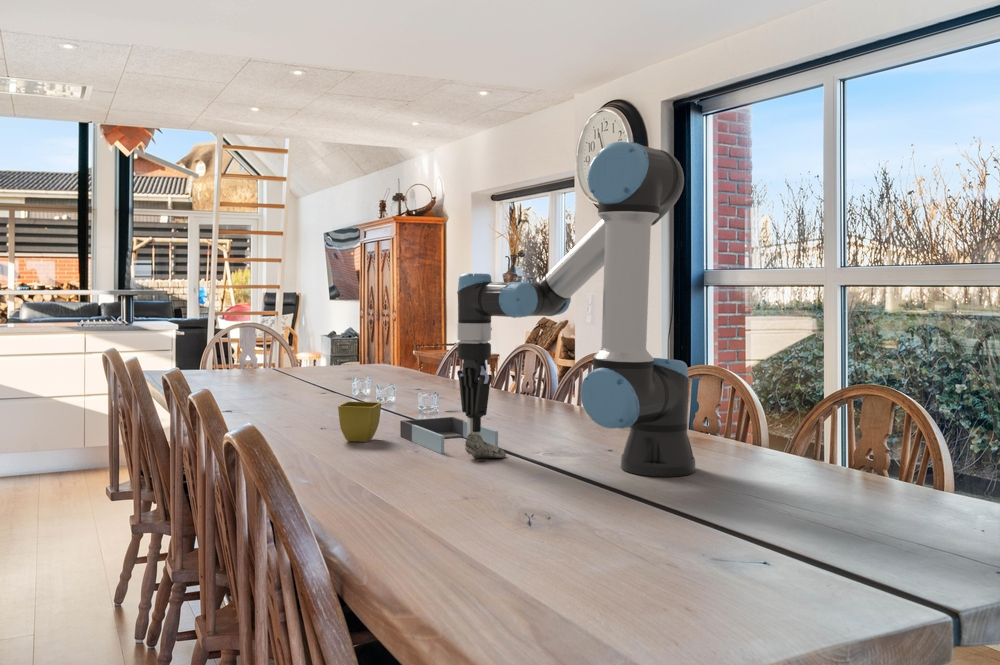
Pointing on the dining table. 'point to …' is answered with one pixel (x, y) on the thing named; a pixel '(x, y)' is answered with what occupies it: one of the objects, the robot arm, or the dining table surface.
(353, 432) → the flower pot
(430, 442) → the strips
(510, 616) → the dining table surface
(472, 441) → the rock sample
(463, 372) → the robot arm
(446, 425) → the grey open box
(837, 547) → the dining table surface
